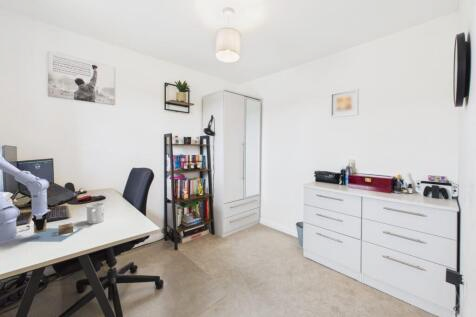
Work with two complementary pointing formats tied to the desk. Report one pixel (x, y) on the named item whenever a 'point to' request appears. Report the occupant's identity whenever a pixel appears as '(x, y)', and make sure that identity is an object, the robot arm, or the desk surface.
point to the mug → (95, 213)
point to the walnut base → (65, 229)
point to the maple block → (40, 230)
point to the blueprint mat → (50, 236)
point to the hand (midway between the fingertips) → (40, 228)
